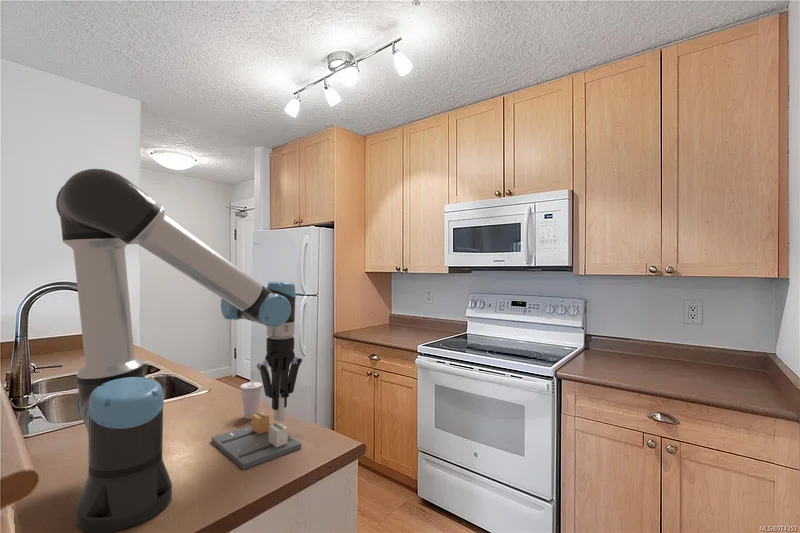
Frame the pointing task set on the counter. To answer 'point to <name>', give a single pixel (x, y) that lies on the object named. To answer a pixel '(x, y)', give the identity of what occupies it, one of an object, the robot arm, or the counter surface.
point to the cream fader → (278, 435)
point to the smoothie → (251, 397)
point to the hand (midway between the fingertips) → (279, 419)
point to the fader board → (251, 446)
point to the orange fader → (260, 422)
